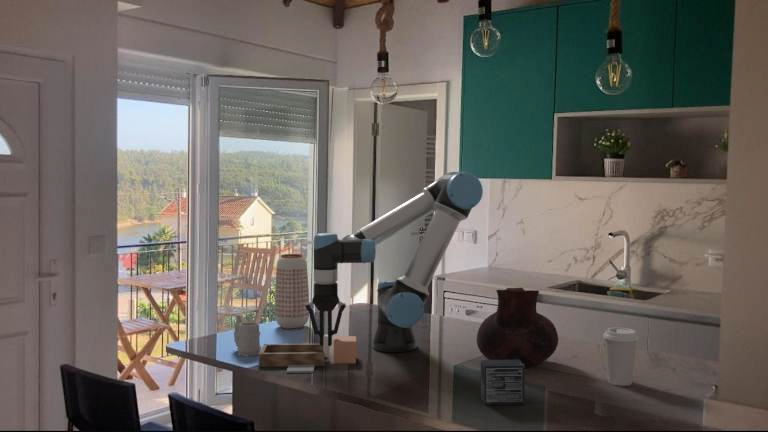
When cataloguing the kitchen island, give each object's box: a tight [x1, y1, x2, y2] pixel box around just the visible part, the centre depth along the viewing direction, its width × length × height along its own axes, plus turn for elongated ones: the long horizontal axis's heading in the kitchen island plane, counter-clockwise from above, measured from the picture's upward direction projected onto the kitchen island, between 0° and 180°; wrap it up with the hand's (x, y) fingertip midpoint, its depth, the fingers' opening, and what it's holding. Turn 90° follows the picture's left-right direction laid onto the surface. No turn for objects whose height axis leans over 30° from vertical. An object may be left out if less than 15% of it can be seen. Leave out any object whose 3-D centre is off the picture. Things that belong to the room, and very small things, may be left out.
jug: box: [476, 287, 559, 369], centre depth 216 cm, size 25×25×25 cm
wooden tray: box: [258, 343, 326, 368], centre depth 221 cm, size 20×12×4 cm, turn 92°
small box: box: [480, 359, 526, 406], centre depth 181 cm, size 11×6×10 cm, turn 92°
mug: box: [233, 314, 262, 357], centre depth 231 cm, size 8×12×12 cm, turn 47°
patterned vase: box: [274, 253, 310, 330], centre depth 269 cm, size 13×13×28 cm
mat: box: [285, 364, 316, 374], centre depth 211 cm, size 8×7×1 cm
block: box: [333, 335, 357, 364], centre depth 221 cm, size 7×7×7 cm
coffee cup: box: [602, 327, 639, 387], centre depth 198 cm, size 10×10×15 cm
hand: (325, 355), depth 221 cm, fingers closed
